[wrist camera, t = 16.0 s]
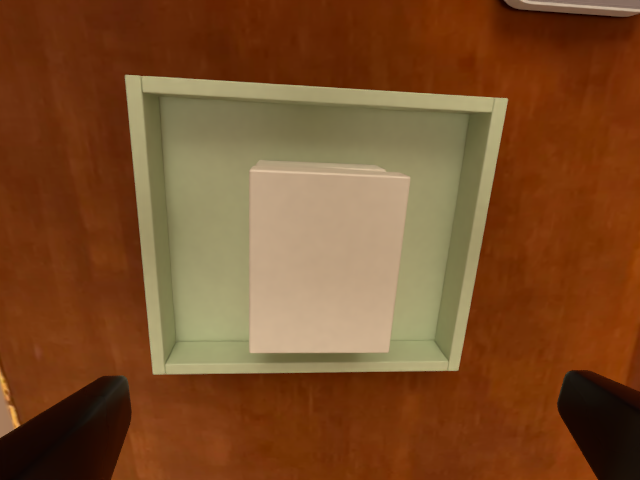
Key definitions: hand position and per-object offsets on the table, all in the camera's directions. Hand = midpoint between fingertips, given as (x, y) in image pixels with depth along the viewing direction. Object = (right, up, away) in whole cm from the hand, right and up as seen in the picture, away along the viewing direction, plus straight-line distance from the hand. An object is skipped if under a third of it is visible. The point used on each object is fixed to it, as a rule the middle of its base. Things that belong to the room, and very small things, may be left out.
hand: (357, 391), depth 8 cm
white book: (-1, +2, +7) cm, 8 cm away
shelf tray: (-1, +4, +11) cm, 12 cm away
